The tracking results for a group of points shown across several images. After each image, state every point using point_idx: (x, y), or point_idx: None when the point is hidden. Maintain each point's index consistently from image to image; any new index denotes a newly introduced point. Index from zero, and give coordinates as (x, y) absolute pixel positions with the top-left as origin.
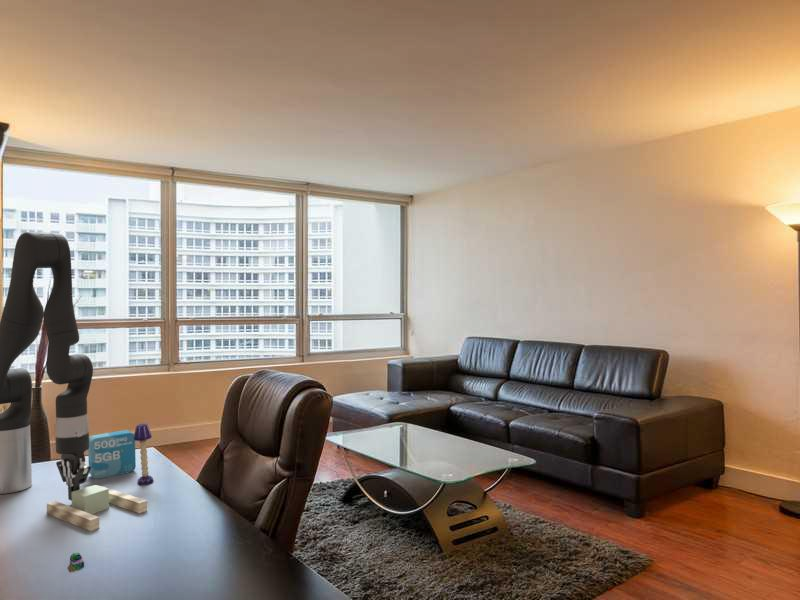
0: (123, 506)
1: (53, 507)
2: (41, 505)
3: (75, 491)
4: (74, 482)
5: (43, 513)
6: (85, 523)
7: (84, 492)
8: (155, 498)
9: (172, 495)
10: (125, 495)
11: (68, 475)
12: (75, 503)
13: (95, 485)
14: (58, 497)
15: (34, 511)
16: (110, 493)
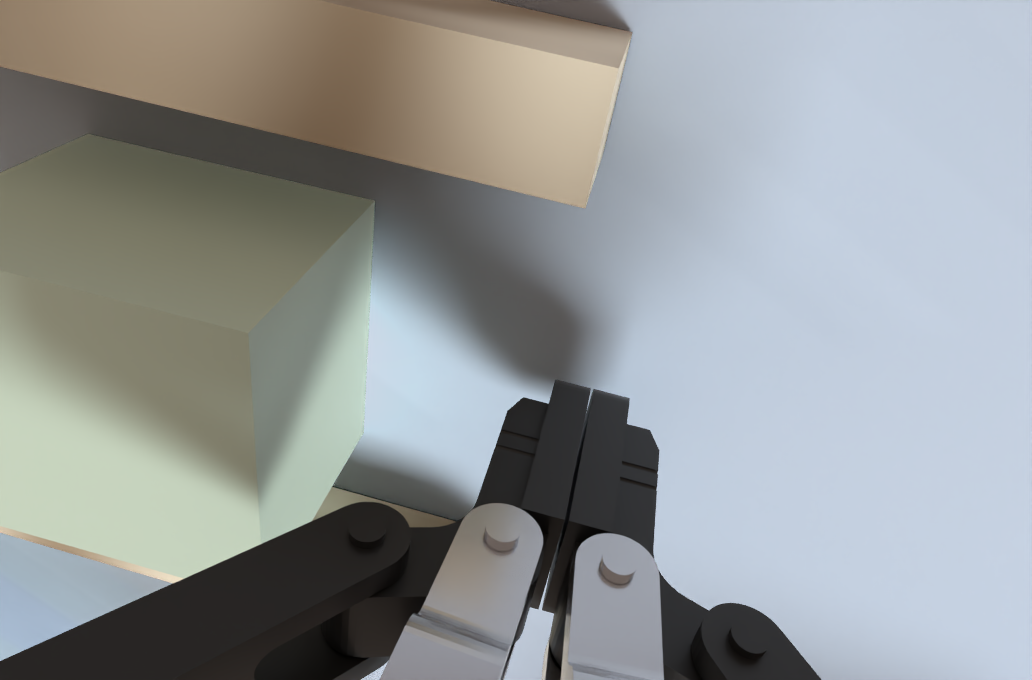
0: None
1: (387, 9)
2: (1019, 249)
3: (220, 366)
4: (353, 545)
5: (693, 16)
6: None
7: (52, 360)
8: (51, 585)
9: (20, 635)
10: None
11: (460, 673)
12: (223, 228)
13: None
14: (989, 502)
15: (931, 27)
16: None
